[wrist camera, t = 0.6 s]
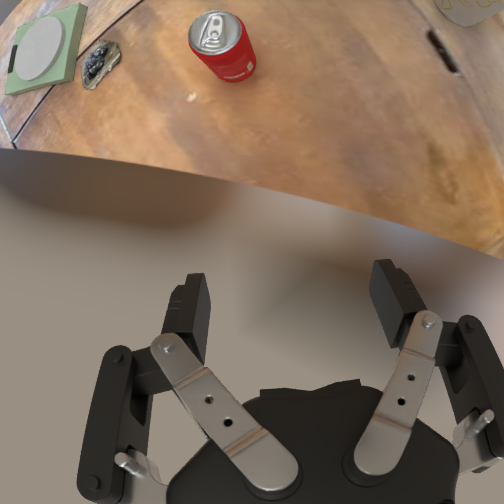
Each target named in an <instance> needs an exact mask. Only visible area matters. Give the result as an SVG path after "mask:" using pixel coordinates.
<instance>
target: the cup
mask: <svg viewBox="0 0 504 504" xmlns="http://www.w3.org/2000/svg"><path fill="white" fill-rule="evenodd" d="M434 1H435V3H436V5H437V6H438V8H439V9H440V11H441V12H442V13H443V14H444V15H445V16H446V17H447V18H448V19H450V20H451V21H452V22H454V23H456V24H458V25H460V26H463V27H471V26H473V25H475V24H477V23H479V22H481V21H483V20H485V19H487V18H489V17H490V16H492V15H494V14H496V13H498V12H501V11H503V10H504V0H434Z"/></svg>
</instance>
